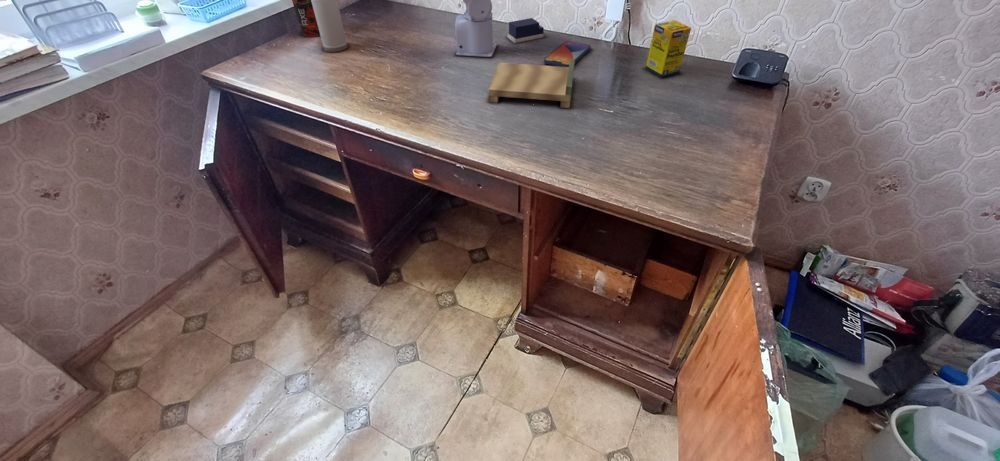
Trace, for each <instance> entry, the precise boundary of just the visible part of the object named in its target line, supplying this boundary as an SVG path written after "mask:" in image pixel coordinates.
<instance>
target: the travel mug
mask: <svg viewBox="0 0 1000 461" xmlns="http://www.w3.org/2000/svg"><path fill="white" fill-rule="evenodd" d="M311 2H312V6H313V9H314V13H315V17H316V21H317V24H318V28H319V32H320V35H319V36H320V40H321V43H322V46H323V50H324V51H326V52H329V53H338V52H342V51H345V50H347V48H348V47H349V46H348V45H349V44H348V40H347V36H346V32H345V27H344V23H343V19H342V15H341V11H340V6H339V2H338V0H311Z"/></svg>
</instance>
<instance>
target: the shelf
mask: <svg viewBox="0 0 1000 461" xmlns="http://www.w3.org/2000/svg"><path fill="white" fill-rule="evenodd" d="M575 64H576V63H575V59H570V62H569V67H560V66H556V65H543V64H542V65H541V64H527V63H512V62H511V63H510V62H498V64H497V67H496V69H495V72H494V74H493V76H492V80H491V82H490V84H489V87H488V102H489V103H498V102H499V100H500V97H501V98H502V97H503V98H515V99H529V100H541V101H542V100H543V101H544V100H545V101H554V102H560V108H564V109H570V108H571V98H572V91H573V90H572V89H573V83H574V72H575Z"/></svg>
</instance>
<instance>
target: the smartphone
mask: <svg viewBox="0 0 1000 461" xmlns="http://www.w3.org/2000/svg"><path fill="white" fill-rule="evenodd" d="M590 50H591V45H590V44H587V43H581V42H577V41H572V40H565V41H563V42H562V43H561V44H560V45H558V46H557V47H556V48H555V49H554V50H552V51H551V52H550V53H549V54H548V55H546V56H545V57H544V59H543V62H544V64H546V65H548V66H558V67H569V62H570V59H575V64H576V63H577V62H579V60H580V59H582V57H584V56H585V55H586V54H587V53H588V52H589V51H590Z"/></svg>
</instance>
